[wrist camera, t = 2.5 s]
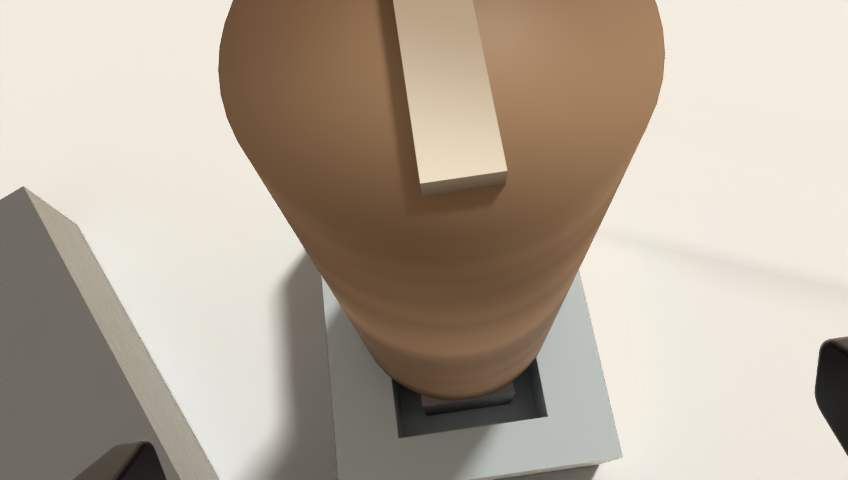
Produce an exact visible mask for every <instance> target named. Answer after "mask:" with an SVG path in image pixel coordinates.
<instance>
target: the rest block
mask: <svg viewBox="0 0 848 480" xmlns="http://www.w3.org/2000/svg"><path fill="white" fill-rule="evenodd" d="M321 276H322V275H321ZM322 288H323V300H324V313H325V325H326V337H327V350H328V362H329V374H330V387H331V399H332V411H333V424H334V436H335V448H336V461H337V473H338V480H494V479H501V478H508V477H515V476H522V475H529V474H536V473H543V472H550V471H557V470H563V469H570V468H577V467H584V466H591V465H598V464H602V463H606V462H609V461H612V460H615V459H618V458H622V457H623V456H622V451H621V447H620V443H619V439H618V434H617V430H616V426H615V422H614V417H613V413H612V409H611V405H610V400H609V396H608V392H607V387H606V383H605V379H604V375H603V370H602V366H601V362H600V358H599V353H598V349H597V345H596V341H595V336H594V332H593V328H592V323H591V319H590V315H589V311H588V306H587V302H586V298H585V294H584V289H583V285H582V281H581V277H580V272H579V270H578V272H577V274H576V276H575V278H574V281H573V283H572V285H571V287H570V289H569V291H568V293H567V295H566V297H565V299H564V301H563V304H562V306H561V308H560V310H559V312H558V314H557V316H556V318H555V320H554V322H553V325H552V327H551V329H550V331H549V333H548V335H547V337H546V339H545V341H544V343H543V345H542V348H541V349H540V351H539V353H538V354H537V356H536V358H535V359H534V361H533V362H532V363H531V364H530V366H529V367H528V368H527V369H526V370H525V371H524V372H523V373H522V374H521V375H520V376H519V377H518V378H517V379H515V380H514V381H513V383H514V388H515V395H514V397H513V399H512V401H511V404H505V405H499V406H492V407H485V408H478V409H471V410H464V411H457V412H450V413H444V414H437V415H430V416H426V414H425V411H424V409H423V407H422V400H421V394H418V393H415V392H413V391H411V390H409V389H407V388H405V387H404V386H402V385H401V384H399V383H398V382H396V381H395V380H393V379H392V378H391V377H390V376H389V375H388V374H387V373H385V372H384V371H383V369H382V368H381V367H380V366H379V365H378V364H377V362H376V361H375V360H374V358H373V356H372V355H371V353H370V352H369V350H368V349H367V347H366V345H365V344H364V342H363V341H362V339H361V337H360V336H359V334H358V333H357V331H356V329H355V328H354V326H353V325H352V323H351V322H350V320H349V318H348V317H347V315H346V314H345V312H344V310H343V309H342V307H341V306H340V304H339V302H338V301H337V299H336V298H335V296H334V294H333V293H332V291H331V290H330V288H329V286H328V285H327V283H326V282H325V280H324V278H323V277H322Z"/></svg>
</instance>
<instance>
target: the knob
mask: <svg viewBox="0 0 848 480" xmlns="http://www.w3.org/2000/svg"><path fill="white" fill-rule="evenodd" d="M664 59H665V49H664V36H663V28H662V24H661V20H660V15H659V11H658V7H657V4H656V2H655V0H233V2H232V5H231V8H230V10H229V13H228V16H227V19H226V21H225V24H224V29H223V34H222V38H221V43H220V50H219V69H218V72H219V81H220V91H221V97H222V101H223V104H224V108H225V112H226V116H227V119H228V121H229V123H230V126H231V128H232V130H233V132H234V135H235V137H236V139H237V141H238V143H239V144H240V146H241V148H242V149H243V151H244V152H245V154H246V156H247V157H248V159H249V160H250V162H251V164H252V165H253V167H254V168H255V170H256V172H257V173H258V175H259V176H260V178H261V180H262V181H263V183H264V184H265V186H266V187H267V189H268V191H269V192H270V194H271V195H272V197H273V199H274V200H275V202H276V203H277V205H278V207H279V208H280V210H281V211H282V213H283V215H284V216H285V218H286V219H287V221H288V223H289V224H290V226H291V227H292V229H293V231H294V232H295V234H296V235H297V237H298V239H299V240H300V242H301V243H302V245H303V247H304V248H305V250H306V251H307V253H308V255H309V256H310V258H311V259H312V261H313V262H314V264H315V266H316V267H317V269H318V270H319V272H320V274H321V275H322V277H323V278H324V280H325V282H326V283H327V285H328V286H329V288H330V290H331V291H332V293H333V294H334V296H335V298H336V299H337V301H338V302H339V304H340V306H341V307H342V309H343V310H344V312H345V314H346V315H347V317H348V318H349V320H350V322H351V323H352V325H353V326H354V328H355V329H356V331H357V333H358V334H359V336H360V337H361V339H362V341H363V342H364V344H365V345H366V347H367V349H368V350H369V352H370V353H371V355H372V356H373V358H374V360H375V361H376V362H377V364H378V365H379V366H380V367H381V368H382V369H383V371H384V372H385V373H387V374H388V375H389V376H390V377H391V378H392V379H393V380H395V381H396V382H398V383H399V384H401V385H402V386H404V387H405V388H407V389H409V390H411V391H413V392H415V393H418V394H421V400H422V407H423V409H424V411H425V414H426V416H430V415H437V414H444V413H450V412H457V411H464V410H471V409H478V408H485V407H492V406H499V405H505V404H511V401H512V399H513V397H514V395H515V388H514V383H513V381H514V380H515V379H517V378H518V377H519V376H520V375H521V374H522V373H523V372H524V371H525V370H526V369H527V368H528V367H529V366H530V364H531V363H532V362H533V361H534V359H535V358H536V356H537V354H538V353H539V351H540V349H541V348H542V345H543V343H544V341H545V339H546V337H547V335H548V333H549V331H550V329H551V327H552V325H553V322H554V320H555V318H556V316H557V314H558V312H559V310H560V308H561V306H562V304H563V301H564V299H565V297H566V295H567V293H568V291H569V289H570V287H571V285H572V283H573V281H574V278H575V276H576V274H577V272H578V270H579V268H580V266H581V264H582V262H583V260H584V257H585V255H586V253H587V251H588V249H589V247H590V245H591V243H592V241H593V239H594V237H595V234H596V232H597V230H598V228H599V226H600V224H601V222H602V220H603V218H604V216H605V214H606V211H607V209H608V207H609V205H610V203H611V201H612V199H613V197H614V195H615V193H616V190H617V188H618V186H619V184H620V182H621V180H622V178H623V176H624V174H625V172H626V170H627V167H628V165H629V163H630V161H631V159H632V157H633V155H634V153H635V151H636V149H637V146H638V144H639V142H640V140H641V138H642V136H643V134H644V132H645V130H646V128H647V125H648V123H649V121H650V118H651V116H652V113H653V111H654V109H655V106H656V104H657V100H658V96H659V92H660V88H661V84H662V80H663V71H664Z"/></svg>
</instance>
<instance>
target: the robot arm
mask: <svg viewBox="0 0 848 480" xmlns="http://www.w3.org/2000/svg"><path fill="white" fill-rule="evenodd" d="M815 398H816V402H817V405H818V407H819V409H820V411H821V413H822V414H823V416H824V418H825V419H826V421H827V423H828V424H829V426H830V428H831V429H832V431H833V433H834V434H835V436H836V437H837V439H838V441H839V442H840V444H841V446H842V447H843V449H844V451H845V452H846V454H847V456H848V337H841V338H834V339H828V340H826V341H825V342H823V343H822V345H821V347H820V351H819V359H818V367H817V375H816V384H815ZM72 480H167V479H166V476H165V474H164V471H163V468H162V466H161V463H160V460H159V458H158V455H157V452H156V450H155V448H154V446H153V444H152V443H151V442H150V441H147V440H139V441H132V442H125V443H120V444H117V445H115V446H114V447H113V448H111V449H110V450H109V451H108V452H106V453H105V454H104V455H102V456H101V457H100V458H99V459H97V460H96V461H95V462H94V463H92V464H91V465H90V466H89V467H87V468H86V469H85V470H84V471H82V472H81V473H80V474H79V475H77V476H76V477H75V478H74V479H72Z"/></svg>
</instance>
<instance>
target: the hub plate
mask: <svg viewBox="0 0 848 480" xmlns="http://www.w3.org/2000/svg"><path fill="white" fill-rule="evenodd" d="M139 440H147V441H150V442H151V443H152V444H153V446H154V448H155V450H156V452H157V455H158V458H159V460H160V463H161V466H162V468H163V471H164V474H165V476H166V479H167V480H219V478H218V476H217V475H216V473H215V471H214V469H213V468H212V466H211V464H210V462H209V460H208V459H207V457H206V455H205V453H204V451H203V450H202V448H201V446H200V444H199V442H198V441H197V439H196V437H195V435H194V433H193V432H192V430H191V428H190V426H189V425H188V423H187V421H186V419H185V417H184V416H183V414H182V412H181V410H180V408H179V407H178V405H177V403H176V401H175V399H174V398H173V396H172V394H171V392H170V391H169V389H168V387H167V385H166V383H165V382H164V380H163V378H162V376H161V374H160V373H159V371H158V369H157V367H156V365H155V364H154V362H153V360H152V358H151V356H150V355H149V353H148V351H147V349H146V348H145V346H144V344H143V342H142V340H141V339H140V337H139V335H138V333H137V331H136V330H135V328H134V326H133V324H132V322H131V321H130V319H129V317H128V315H127V313H126V312H125V310H124V308H123V306H122V305H121V303H120V301H119V299H118V297H117V296H116V294H115V292H114V290H113V288H112V287H111V285H110V283H109V281H108V279H107V278H106V276H105V274H104V272H103V270H102V269H101V267H100V265H99V263H98V262H97V260H96V258H95V256H94V254H93V253H92V251H91V249H90V247H89V245H88V244H87V242H86V240H85V238H84V236H83V235H82V233H81V231H80V229H79V228H78V226H77V225H76V224H75V223H74V222H72V221H71V220H70V219H68V218H67V217H65V216H64V215H63V214H61V213H60V212H58V211H57V210H56V209H54V208H53V207H52V206H50V205H49V204H47V203H46V202H45V201H43V200H42V199H40V198H39V197H38V196H36V195H35V194H34V193H32V192H31V191H29V190H28V189H27V188H25V187H24V186H23V187H21V188H20V189H18V190H16V191H14V192H13V193H11V194H9V195H8V196H6V197H4V198H3V199H1V200H0V480H72V479H74V478H75V477H76V476H77V475H79V474H80V473H81V472H82V471H84V470H85V469H86V468H87V467H89V466H90V465H91V464H92V463H94V462H95V461H96V460H97V459H99V458H100V457H101V456H102V455H104V454H105V453H106V452H108V451H109V450H110V449H111V448H113V447H114V446H115V445H117V444H120V443H125V442H132V441H139Z"/></svg>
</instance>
